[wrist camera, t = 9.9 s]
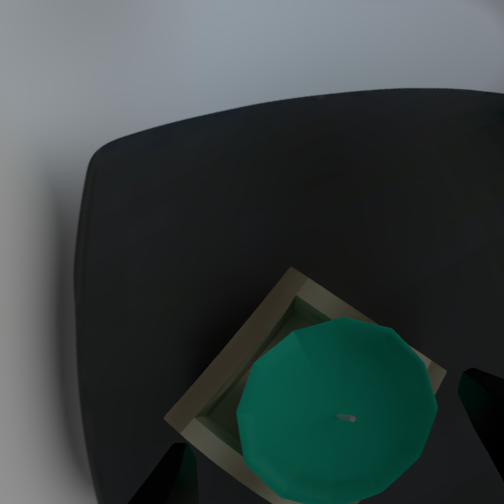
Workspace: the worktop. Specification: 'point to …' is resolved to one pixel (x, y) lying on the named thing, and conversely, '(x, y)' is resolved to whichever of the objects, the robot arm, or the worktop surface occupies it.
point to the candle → (335, 412)
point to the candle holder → (239, 366)
